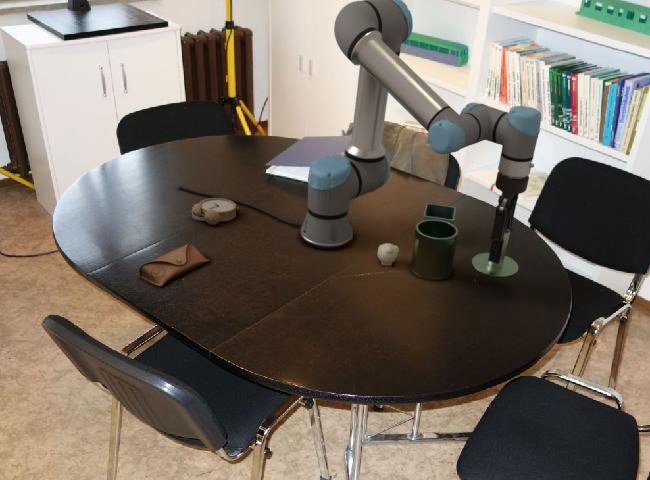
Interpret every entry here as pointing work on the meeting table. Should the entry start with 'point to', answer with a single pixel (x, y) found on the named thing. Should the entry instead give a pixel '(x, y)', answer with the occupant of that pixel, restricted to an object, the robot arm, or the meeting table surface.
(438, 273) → the trash can
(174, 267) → the sunglasses case
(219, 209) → the alarm clock
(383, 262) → the paper ball
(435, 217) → the flower pot
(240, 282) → the meeting table surface
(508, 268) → the bin lid
